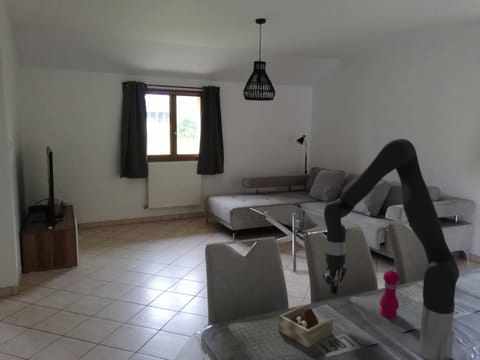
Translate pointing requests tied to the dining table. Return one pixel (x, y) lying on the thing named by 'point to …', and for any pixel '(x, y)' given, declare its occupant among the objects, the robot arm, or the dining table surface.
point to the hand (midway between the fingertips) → (334, 293)
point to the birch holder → (303, 328)
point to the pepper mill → (389, 295)
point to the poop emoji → (307, 319)
